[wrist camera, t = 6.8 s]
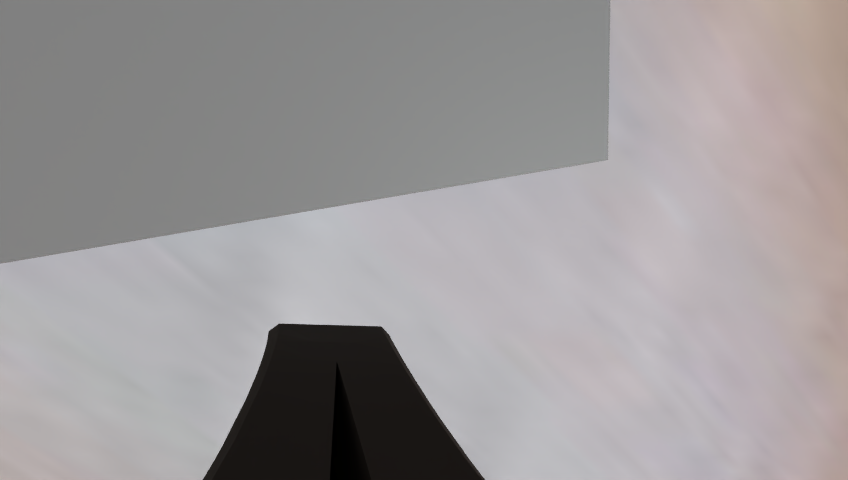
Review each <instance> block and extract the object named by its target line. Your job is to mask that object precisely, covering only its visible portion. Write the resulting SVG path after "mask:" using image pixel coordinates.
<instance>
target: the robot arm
mask: <svg viewBox="0 0 848 480" xmlns="http://www.w3.org/2000/svg"><path fill="white" fill-rule="evenodd" d="M203 480H485V479H484V478H483V477H482V475H481V474H480V473H479V471H478V470H477V469H476V468H475V466H474V465H473V464H472V462H471V461H470V460H469V458H468V457H467V455H466V454H465V453H464V451H463V450H462V448H461V447H460V446H459V444H458V443H457V441H456V440H455V439H454V437H453V436H452V434H451V433H450V432H449V430H448V429H447V427H446V426H445V425H444V423H443V422H442V420H441V419H440V418H439V416H438V415H437V413H436V412H435V410H434V409H433V407H432V406H431V404H430V403H429V401H428V399H427V398H426V396H425V395H424V393H423V392H422V390H421V388H420V387H419V385H418V384H417V382H416V381H415V379H414V377H413V376H412V374H411V373H410V371H409V369H408V368H407V366H406V364H405V363H404V361H403V359H402V357H401V356H400V354H399V352H398V350H397V349H396V347H395V345H394V343H393V341H392V340H391V338H390V336H389V334H388V333H387V332H386V331H385V330H384V329H383V328H382V327H378V326H342V325H307V324H278V325H277V326H275V327H274V328H273V329H271V330H270V331H269V334H268V340H267V345H266V348H265V352H264V355H263V358H262V361H261V364H260V367H259V370H258V372H257V375H256V377H255V380H254V382H253V384H252V387H251V389H250V391H249V394H248V396H247V398H246V400H245V403H244V404H243V406H242V408H241V410H240V412H239V414H238V416H237V418H236V420H235V422H234V424H233V426H232V428H231V430H230V432H229V434H228V436H227V438H226V440H225V442H224V444H223V446H222V448H221V450H220V451H219V453H218V455H217V457H216V459H215V460H214V462H213V464H212V465H211V467H210V469H209V470H208V472H207V474H206V475H205V477H204V479H203Z"/></svg>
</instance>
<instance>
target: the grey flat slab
mask: <svg viewBox="0 0 848 480" xmlns="http://www.w3.org/2000/svg"><path fill="white" fill-rule="evenodd" d="M609 44H610V0H0V264H1V263H7V262H13V261H18V260H24V259H30V258H36V257H42V256H48V255H54V254H59V253H65V252H71V251H77V250H83V249H89V248H95V247H100V246H106V245H112V244H118V243H124V242H130V241H136V240H142V239H147V238H153V237H159V236H165V235H171V234H177V233H183V232H188V231H194V230H200V229H206V228H212V227H218V226H224V225H229V224H235V223H241V222H247V221H253V220H259V219H265V218H271V217H276V216H282V215H288V214H294V213H300V212H306V211H312V210H317V209H323V208H329V207H335V206H341V205H347V204H353V203H358V202H364V201H370V200H376V199H382V198H388V197H394V196H400V195H405V194H411V193H417V192H423V191H429V190H435V189H441V188H446V187H452V186H458V185H464V184H470V183H476V182H482V181H487V180H493V179H499V178H505V177H511V176H517V175H523V174H529V173H534V172H540V171H546V170H552V169H558V168H564V167H570V166H575V165H581V164H587V163H593V162H599V161H605V160H608V112H609Z"/></svg>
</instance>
